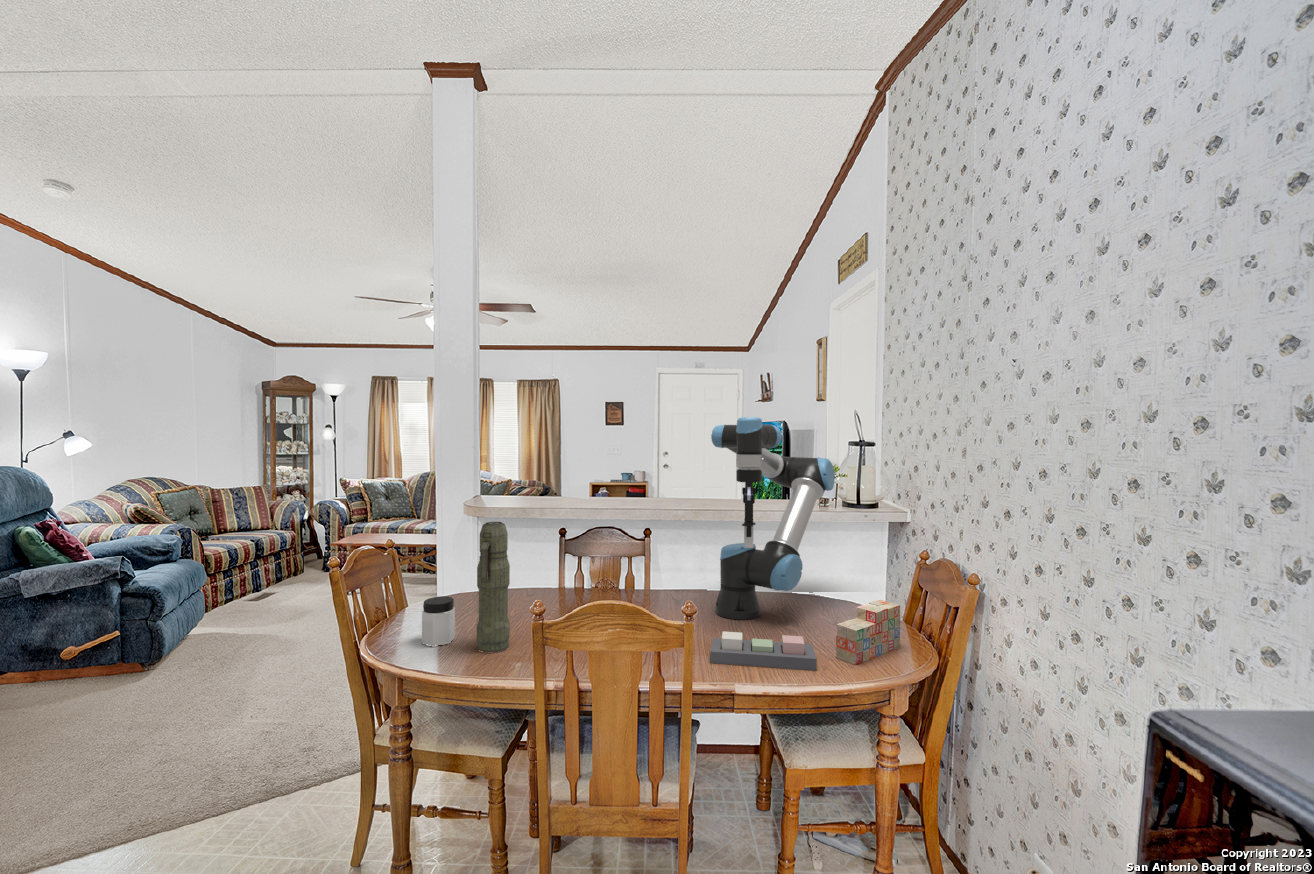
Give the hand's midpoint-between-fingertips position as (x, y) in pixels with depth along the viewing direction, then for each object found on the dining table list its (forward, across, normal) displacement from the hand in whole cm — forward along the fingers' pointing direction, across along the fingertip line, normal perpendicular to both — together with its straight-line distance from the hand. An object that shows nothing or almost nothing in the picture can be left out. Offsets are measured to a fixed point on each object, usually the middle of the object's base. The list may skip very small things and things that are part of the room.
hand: (748, 547), depth 166 cm
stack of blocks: (+27, -7, -33) cm, 43 cm away
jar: (+27, -21, +88) cm, 95 cm away
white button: (+25, -17, +4) cm, 30 cm away
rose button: (+25, -17, -12) cm, 32 cm away
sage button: (+26, -17, -4) cm, 31 cm away
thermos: (+27, -22, +71) cm, 79 cm away
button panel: (+26, -17, -4) cm, 32 cm away
